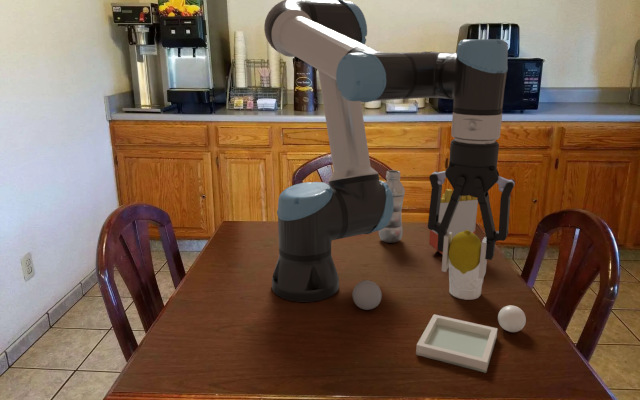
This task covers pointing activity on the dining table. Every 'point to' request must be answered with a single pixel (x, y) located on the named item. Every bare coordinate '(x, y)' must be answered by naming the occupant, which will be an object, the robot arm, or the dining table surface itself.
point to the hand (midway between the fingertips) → (463, 271)
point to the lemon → (465, 251)
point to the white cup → (465, 283)
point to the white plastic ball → (511, 318)
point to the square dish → (458, 342)
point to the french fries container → (456, 216)
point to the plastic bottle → (394, 209)
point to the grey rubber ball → (367, 295)
